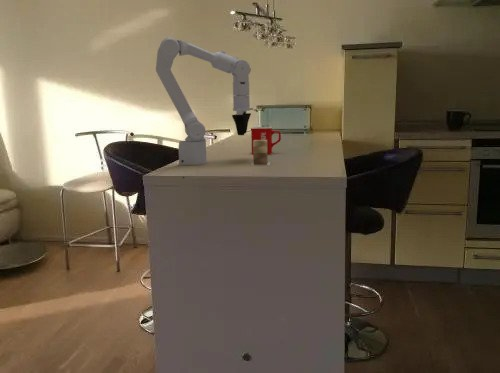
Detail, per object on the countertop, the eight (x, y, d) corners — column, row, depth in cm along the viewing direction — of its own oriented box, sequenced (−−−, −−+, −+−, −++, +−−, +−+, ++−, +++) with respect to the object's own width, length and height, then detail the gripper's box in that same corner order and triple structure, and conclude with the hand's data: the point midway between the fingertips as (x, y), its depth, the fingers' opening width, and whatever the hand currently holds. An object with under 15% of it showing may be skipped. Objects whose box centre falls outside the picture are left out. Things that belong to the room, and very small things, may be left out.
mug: (250, 154, 198) (250, 128, 196) (253, 152, 206) (253, 127, 204) (279, 154, 196) (279, 128, 194) (281, 152, 204) (281, 126, 202)
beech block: (253, 153, 164) (252, 141, 163) (254, 151, 168) (254, 139, 168) (266, 153, 163) (266, 141, 163) (267, 151, 168) (267, 139, 167)
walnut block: (253, 164, 165) (253, 153, 164) (254, 162, 169) (254, 151, 168) (266, 164, 164) (266, 153, 164) (267, 162, 169) (267, 151, 168)
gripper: (250, 95, 163) (251, 136, 166) (254, 95, 177) (254, 132, 180) (230, 95, 164) (231, 136, 166) (235, 95, 178) (236, 132, 181)
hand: (242, 134), depth 173 cm, fingers open, 7 cm apart
